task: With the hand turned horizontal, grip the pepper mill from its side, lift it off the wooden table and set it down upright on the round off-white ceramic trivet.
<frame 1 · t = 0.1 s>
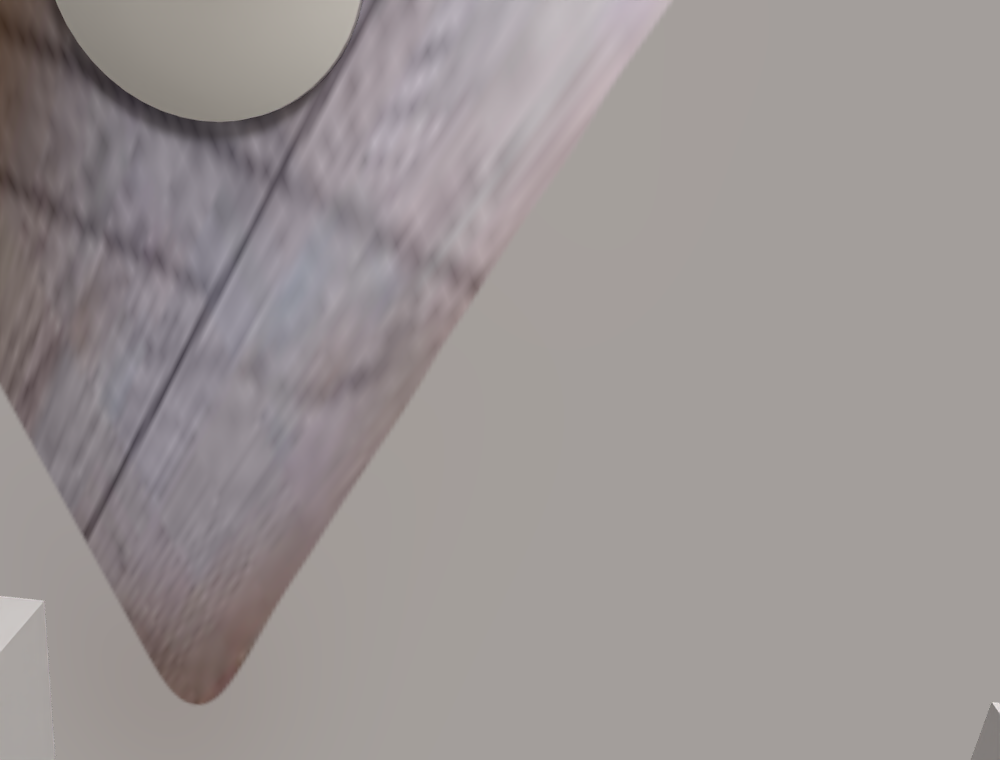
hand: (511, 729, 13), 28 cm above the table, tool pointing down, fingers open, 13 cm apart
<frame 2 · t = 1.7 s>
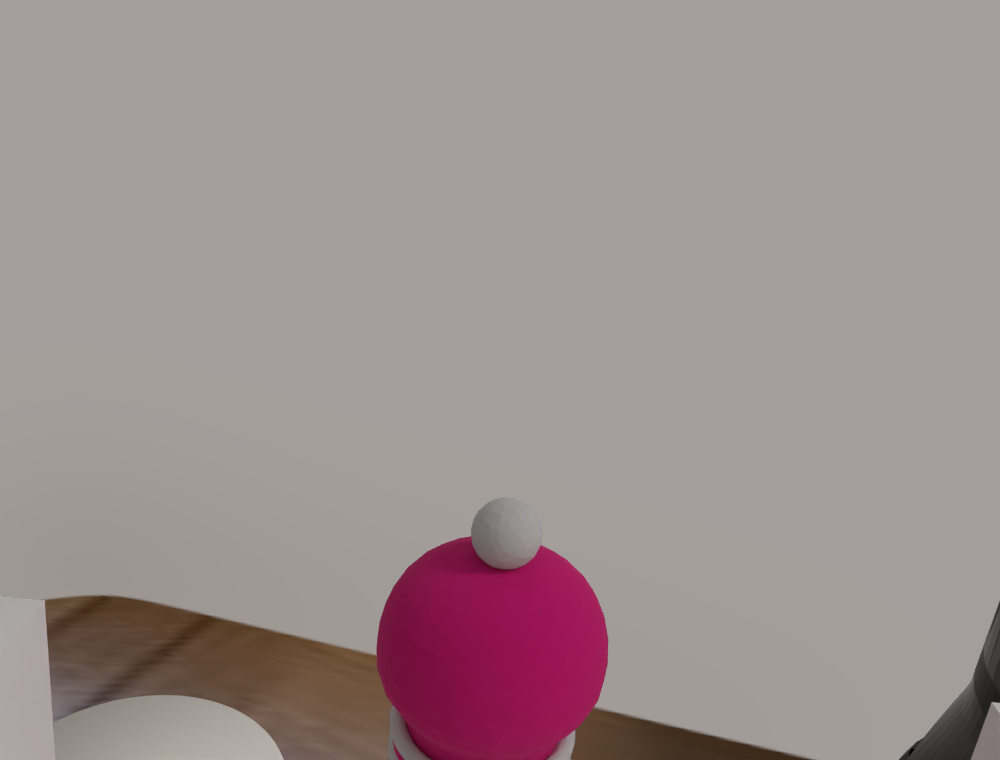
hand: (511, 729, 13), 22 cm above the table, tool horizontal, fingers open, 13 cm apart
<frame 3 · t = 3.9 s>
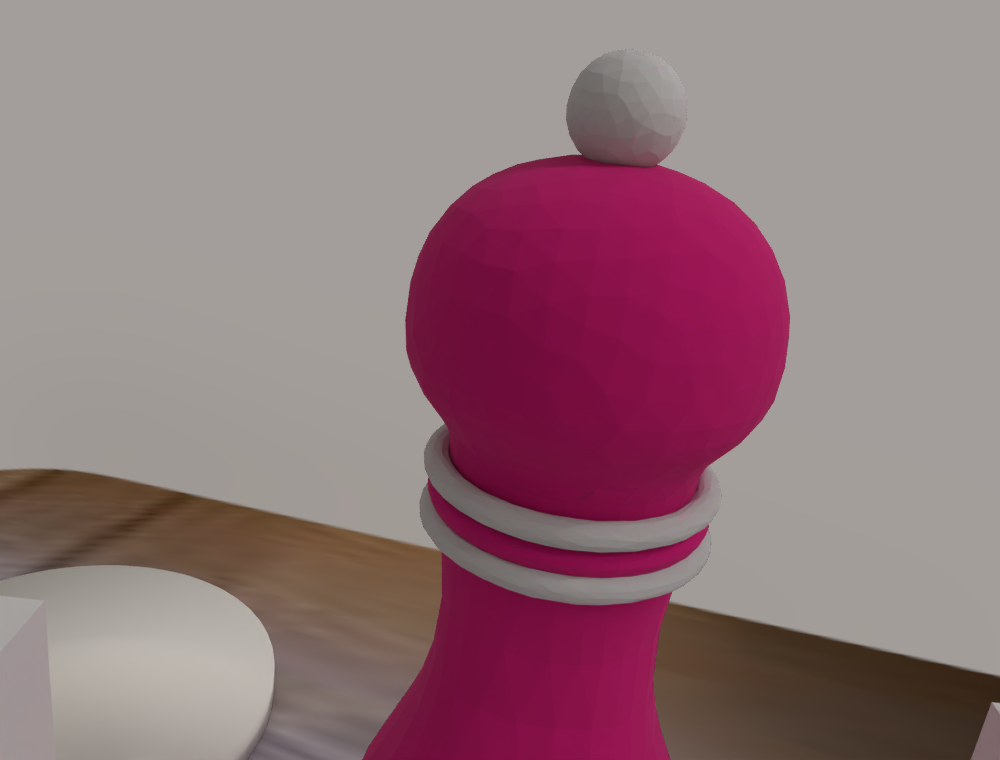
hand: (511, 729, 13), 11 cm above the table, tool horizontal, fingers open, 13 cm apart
trivet: (67, 702, 27), on the table
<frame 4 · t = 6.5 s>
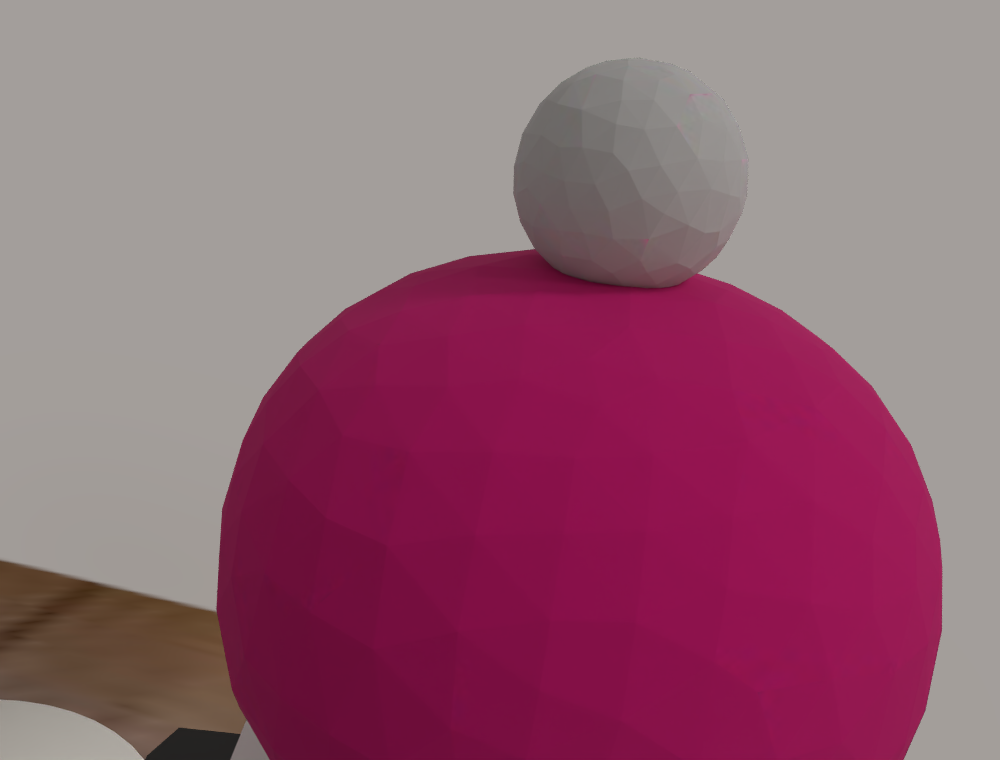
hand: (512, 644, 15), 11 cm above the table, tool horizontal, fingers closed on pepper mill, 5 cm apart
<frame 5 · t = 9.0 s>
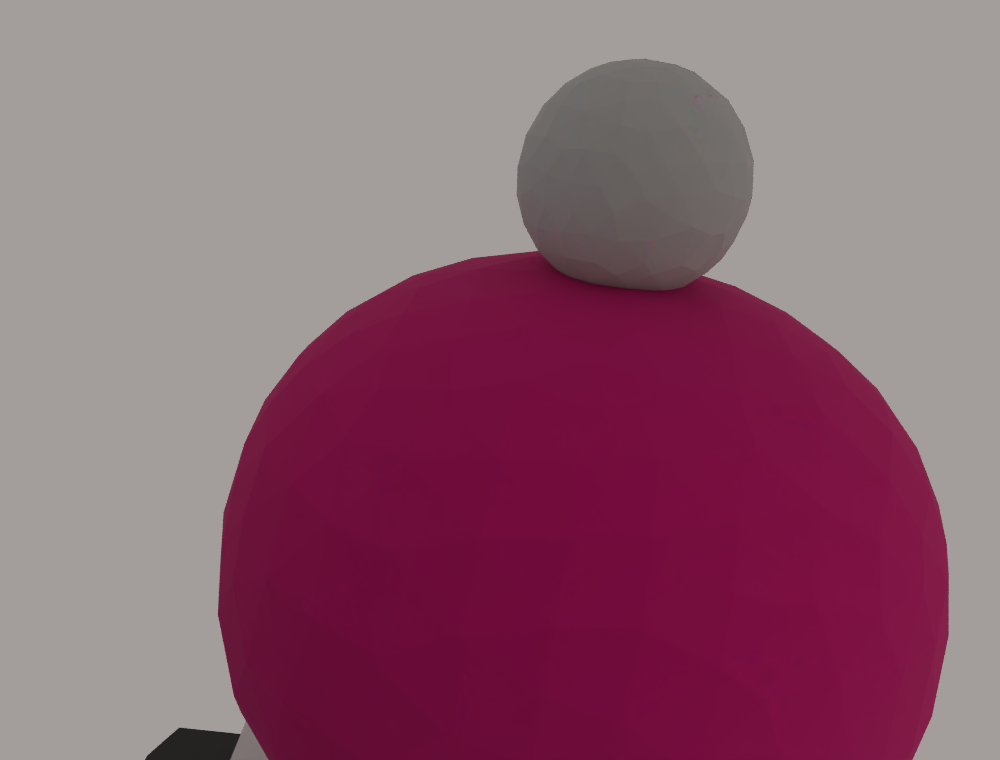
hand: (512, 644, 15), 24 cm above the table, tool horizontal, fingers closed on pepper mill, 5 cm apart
when the fingers open (13 cm above the table, at t = 12.0 s): pepper mill stays where it is, resting on trivet.
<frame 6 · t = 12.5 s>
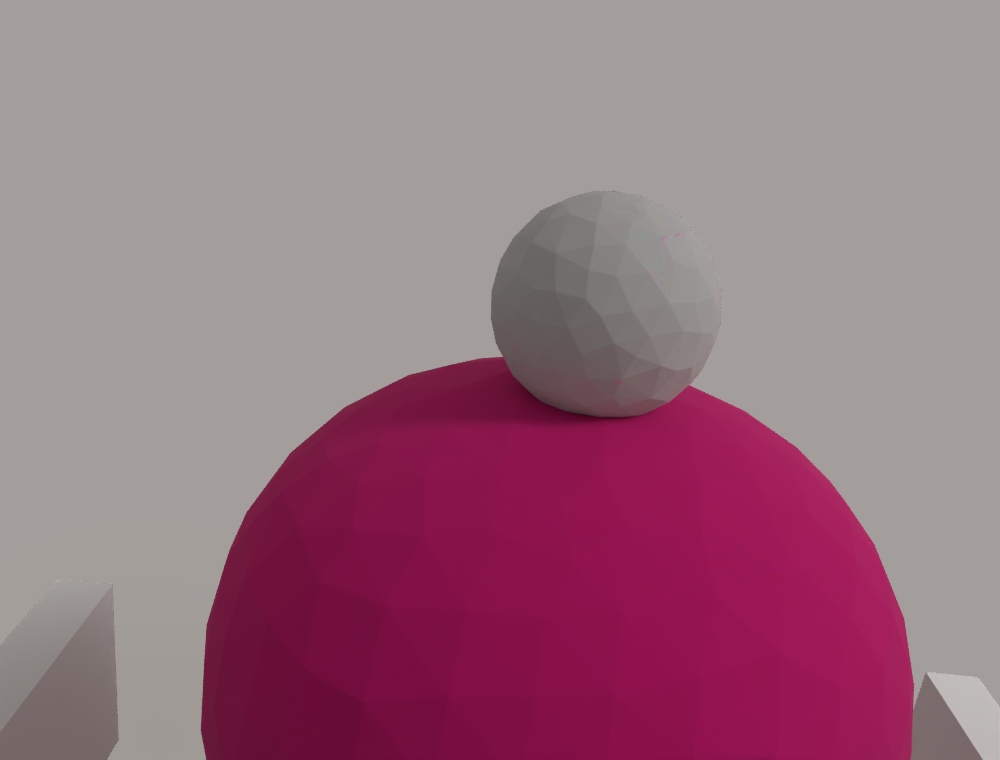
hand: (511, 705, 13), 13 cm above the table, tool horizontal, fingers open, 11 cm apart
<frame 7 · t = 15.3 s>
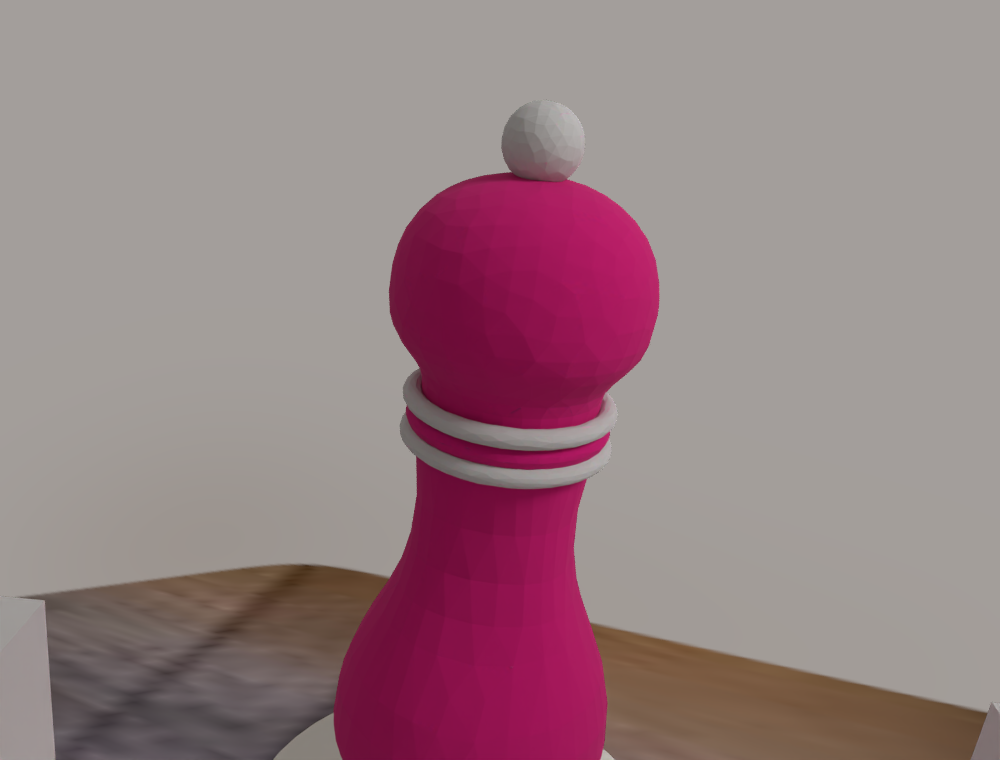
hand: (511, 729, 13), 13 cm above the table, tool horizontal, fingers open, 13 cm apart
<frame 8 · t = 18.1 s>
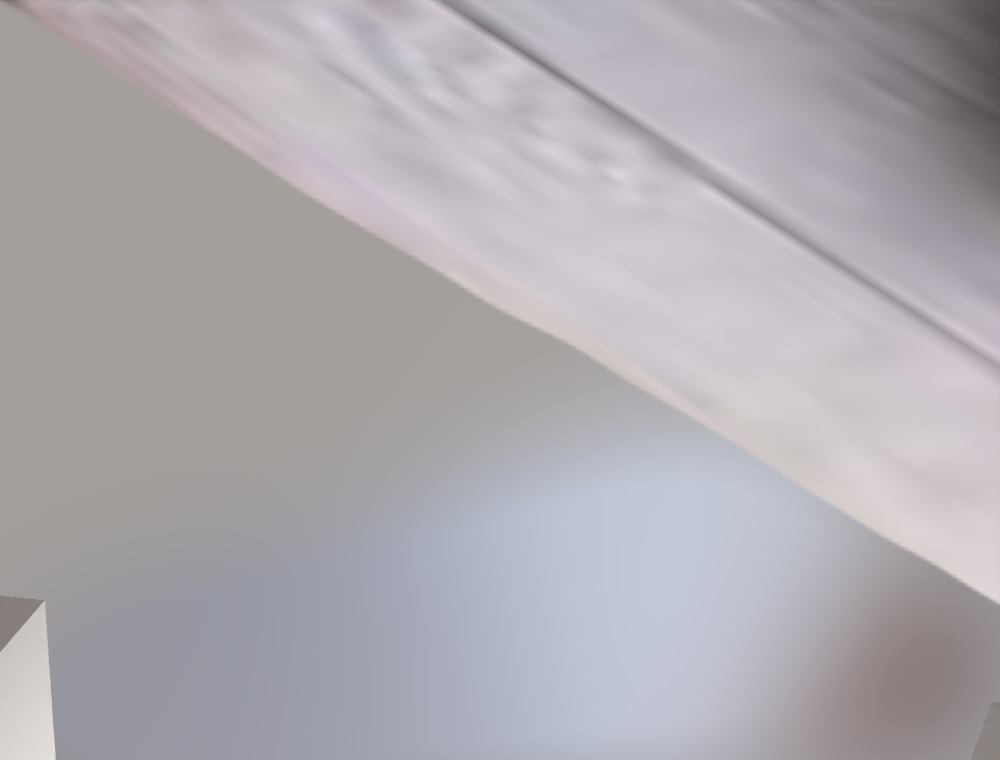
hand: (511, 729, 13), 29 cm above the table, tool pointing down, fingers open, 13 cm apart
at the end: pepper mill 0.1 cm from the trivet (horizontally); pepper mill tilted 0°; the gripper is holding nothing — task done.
